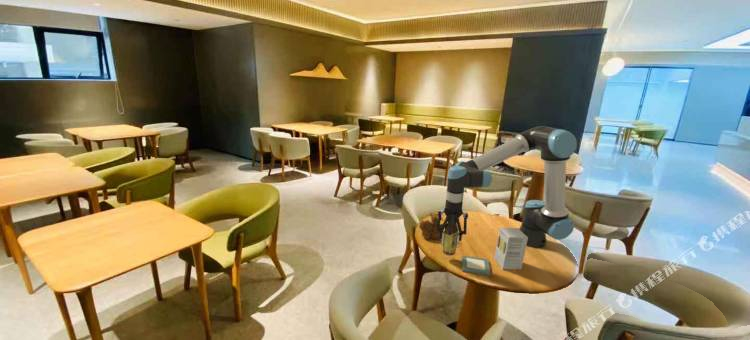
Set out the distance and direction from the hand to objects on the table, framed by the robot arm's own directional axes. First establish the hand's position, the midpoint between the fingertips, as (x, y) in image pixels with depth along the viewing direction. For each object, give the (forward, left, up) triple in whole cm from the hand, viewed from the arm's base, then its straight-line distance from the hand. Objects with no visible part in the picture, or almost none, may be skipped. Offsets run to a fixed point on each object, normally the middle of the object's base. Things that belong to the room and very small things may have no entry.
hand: (449, 245), depth 146 cm
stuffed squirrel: (+10, -20, -8) cm, 23 cm away
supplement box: (-28, -5, -8) cm, 29 cm away
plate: (-13, +2, -7) cm, 15 cm away
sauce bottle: (0, 0, -4) cm, 4 cm away
